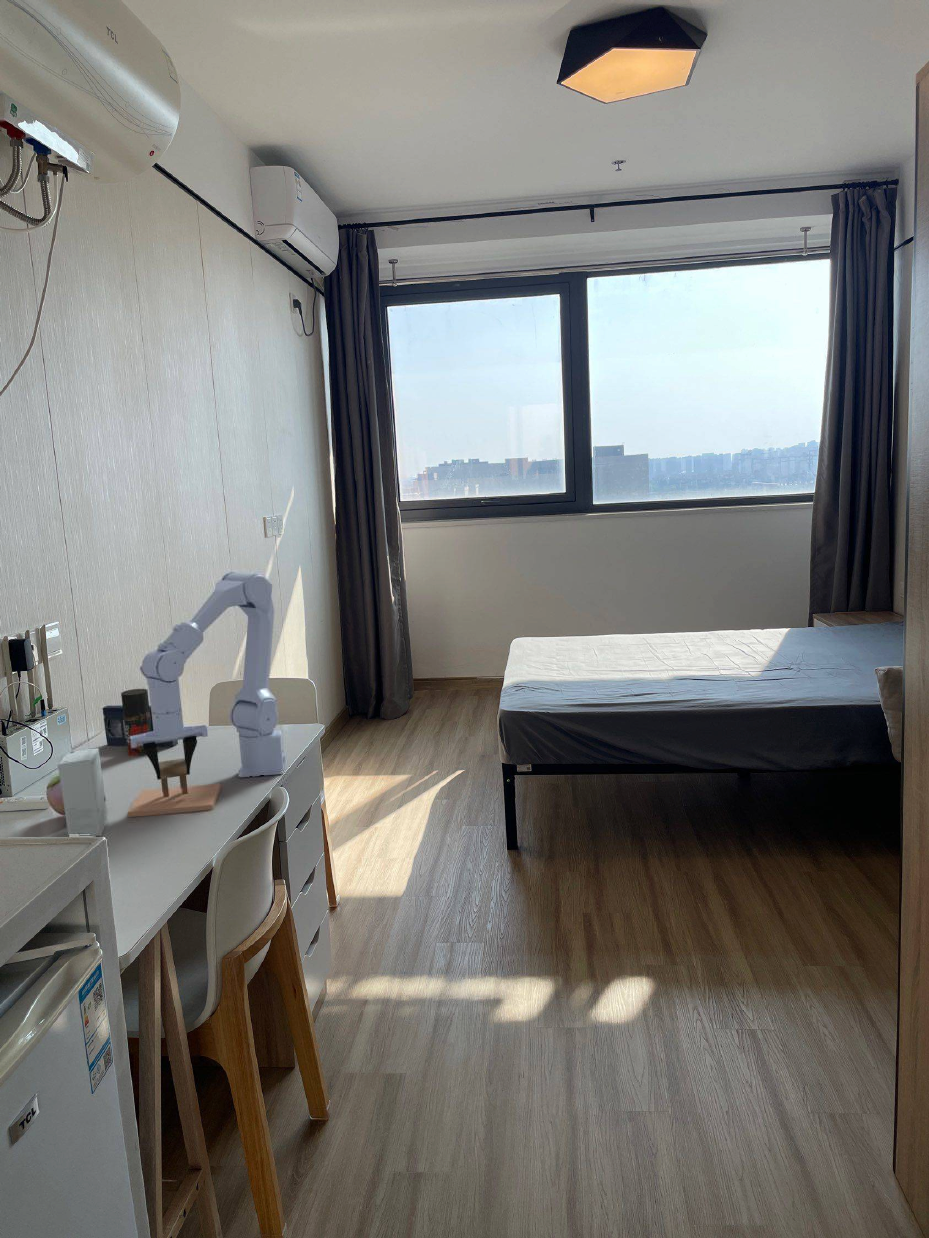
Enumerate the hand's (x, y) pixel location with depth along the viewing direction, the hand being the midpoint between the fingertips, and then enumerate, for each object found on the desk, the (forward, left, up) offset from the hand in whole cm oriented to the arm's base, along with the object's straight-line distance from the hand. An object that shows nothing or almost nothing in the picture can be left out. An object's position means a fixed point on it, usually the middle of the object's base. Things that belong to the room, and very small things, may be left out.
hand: (173, 775), depth 175 cm
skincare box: (+14, +11, -6) cm, 19 cm away
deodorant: (+15, -37, -6) cm, 40 cm away
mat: (0, 0, -6) cm, 6 cm away
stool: (0, 0, -4) cm, 4 cm away
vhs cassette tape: (+16, -43, -6) cm, 46 cm away
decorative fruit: (+19, +3, -6) cm, 20 cm away
